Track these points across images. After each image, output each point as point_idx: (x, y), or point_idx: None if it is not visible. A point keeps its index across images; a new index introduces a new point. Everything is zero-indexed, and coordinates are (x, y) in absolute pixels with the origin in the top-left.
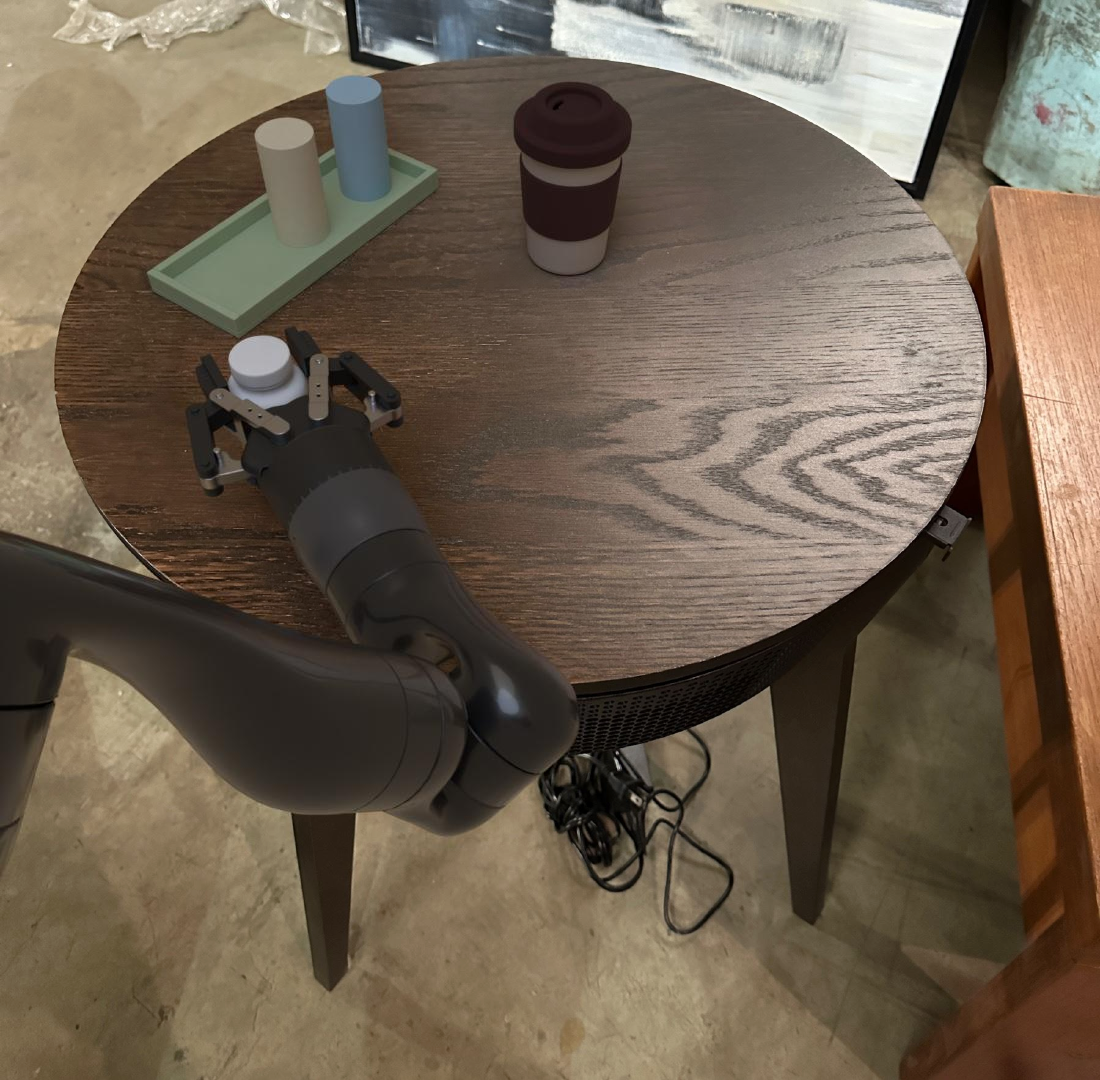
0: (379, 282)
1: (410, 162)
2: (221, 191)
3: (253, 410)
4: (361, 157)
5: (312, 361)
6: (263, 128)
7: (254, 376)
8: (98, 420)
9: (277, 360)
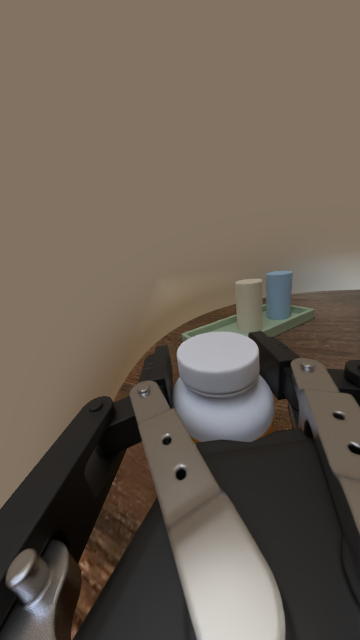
0: (291, 349)
1: (299, 307)
2: (218, 317)
3: (173, 443)
4: (279, 299)
5: (296, 366)
6: (239, 281)
7: (201, 372)
8: (129, 393)
9: (240, 355)
